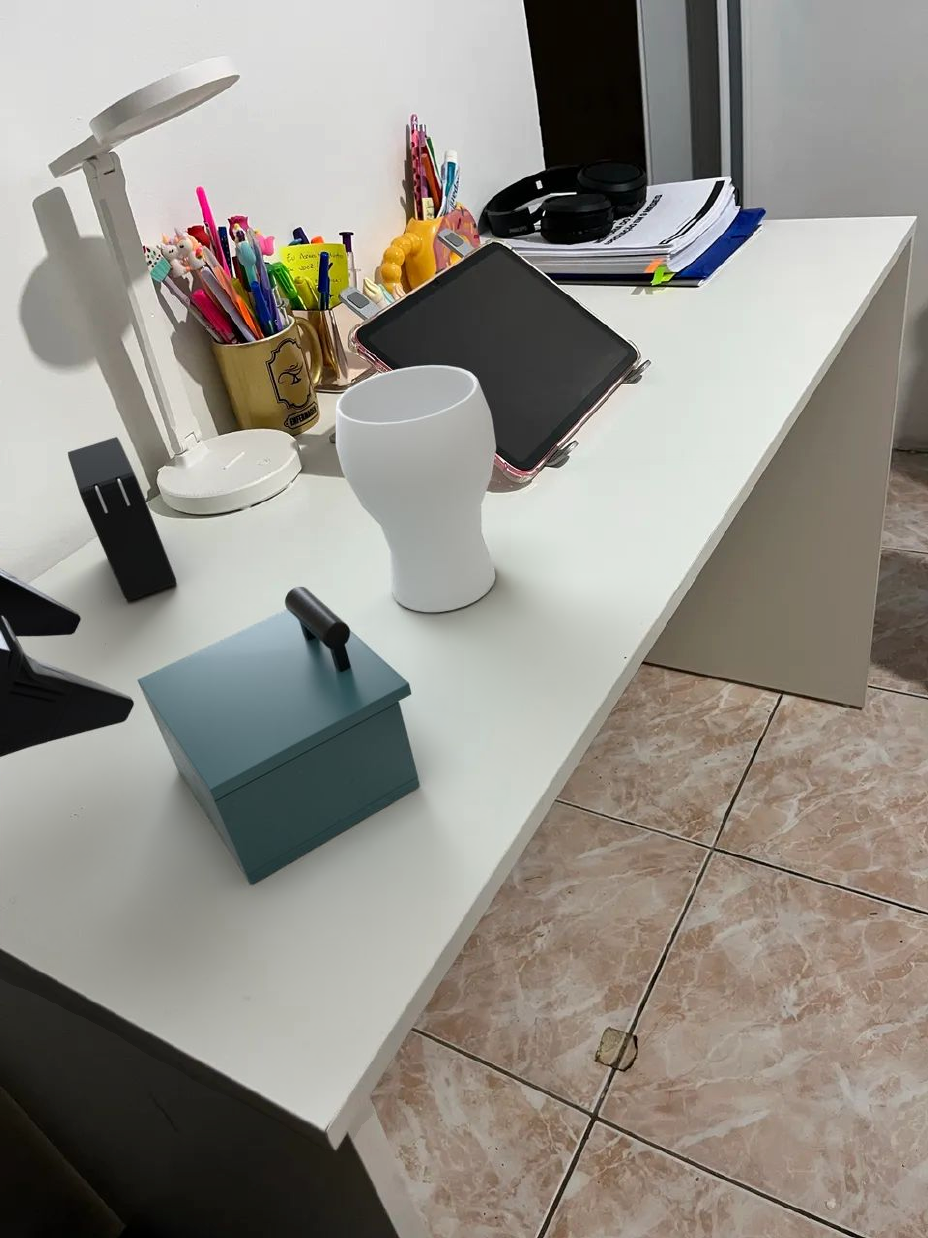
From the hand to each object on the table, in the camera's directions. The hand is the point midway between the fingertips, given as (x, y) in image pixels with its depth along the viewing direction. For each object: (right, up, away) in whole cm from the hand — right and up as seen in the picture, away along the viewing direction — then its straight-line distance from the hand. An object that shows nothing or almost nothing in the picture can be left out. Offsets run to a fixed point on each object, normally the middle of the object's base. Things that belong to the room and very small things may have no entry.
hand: (101, 664), depth 46 cm
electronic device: (-9, +6, +34) cm, 36 cm away
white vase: (+16, +5, +25) cm, 30 cm away
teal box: (+8, -7, +10) cm, 14 cm away
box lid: (+7, -2, +7) cm, 10 cm away
